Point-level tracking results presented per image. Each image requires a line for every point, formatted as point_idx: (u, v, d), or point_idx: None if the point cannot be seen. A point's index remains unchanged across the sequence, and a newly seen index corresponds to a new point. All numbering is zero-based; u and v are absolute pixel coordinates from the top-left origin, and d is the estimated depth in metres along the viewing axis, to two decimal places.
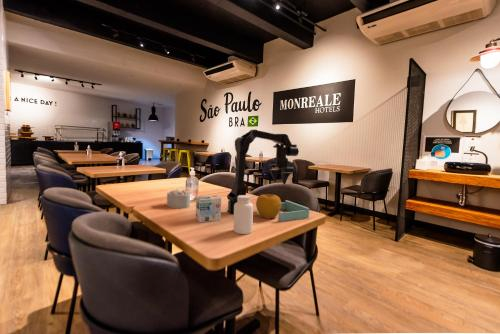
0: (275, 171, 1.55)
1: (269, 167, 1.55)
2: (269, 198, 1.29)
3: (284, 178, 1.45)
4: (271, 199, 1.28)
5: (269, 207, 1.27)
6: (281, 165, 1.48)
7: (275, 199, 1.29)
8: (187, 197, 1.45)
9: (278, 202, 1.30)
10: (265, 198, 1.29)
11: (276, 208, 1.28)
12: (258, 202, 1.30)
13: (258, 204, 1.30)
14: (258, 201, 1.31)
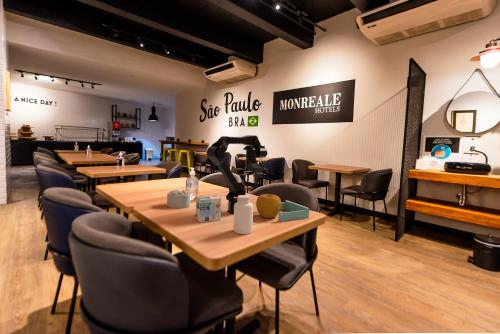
0: (257, 175, 1.47)
1: None
2: (269, 198, 1.29)
3: (242, 180, 1.44)
4: (271, 199, 1.28)
5: (269, 207, 1.27)
6: (245, 167, 1.45)
7: (275, 199, 1.29)
8: (187, 197, 1.45)
9: (278, 202, 1.30)
10: (265, 198, 1.29)
11: (276, 208, 1.28)
12: (258, 202, 1.30)
13: (258, 204, 1.30)
14: (258, 201, 1.31)
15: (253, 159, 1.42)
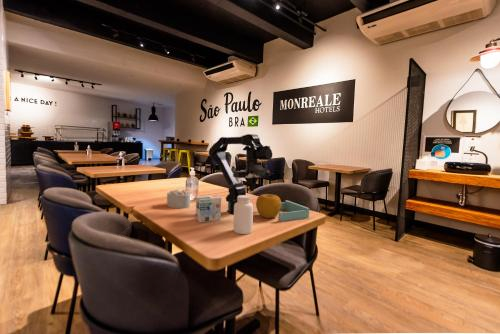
0: (253, 178, 1.32)
1: None
2: (269, 198, 1.29)
3: (248, 183, 1.31)
4: (271, 199, 1.28)
5: (269, 207, 1.27)
6: (246, 170, 1.30)
7: (275, 199, 1.29)
8: (187, 197, 1.45)
9: (278, 202, 1.30)
10: (265, 198, 1.29)
11: (276, 208, 1.28)
12: (258, 202, 1.30)
13: (258, 204, 1.30)
14: (258, 201, 1.31)
15: (255, 160, 1.28)
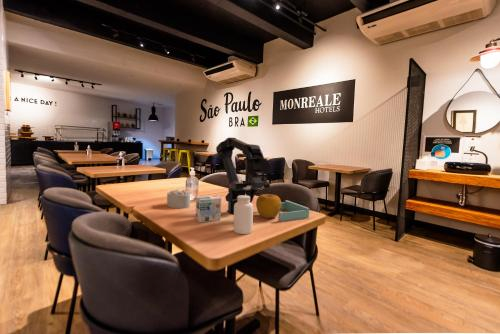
0: (251, 190, 1.28)
1: None
2: (269, 198, 1.29)
3: (247, 195, 1.28)
4: (271, 199, 1.28)
5: (269, 207, 1.27)
6: (245, 181, 1.27)
7: (275, 199, 1.29)
8: (187, 197, 1.45)
9: (278, 202, 1.30)
10: (265, 198, 1.29)
11: (276, 208, 1.28)
12: (258, 202, 1.30)
13: (258, 204, 1.30)
14: (258, 201, 1.31)
15: (254, 172, 1.24)
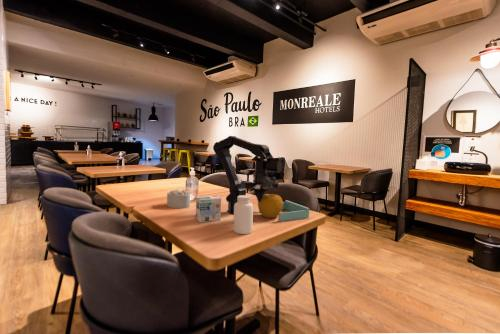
0: (260, 189, 1.30)
1: None
2: (271, 198, 1.29)
3: (256, 194, 1.31)
4: (273, 199, 1.29)
5: (271, 207, 1.28)
6: (254, 180, 1.30)
7: (277, 199, 1.30)
8: (187, 197, 1.45)
9: (280, 202, 1.30)
10: (267, 198, 1.29)
11: (278, 208, 1.29)
12: (260, 202, 1.31)
13: (260, 204, 1.31)
14: (260, 201, 1.31)
15: (263, 172, 1.27)
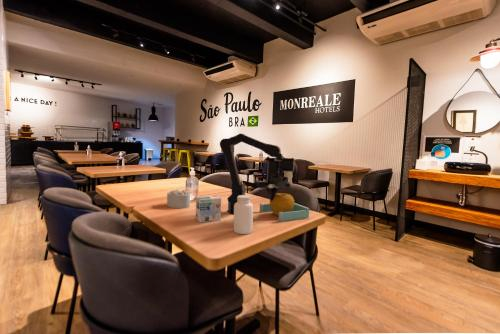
0: None
1: None
2: (283, 197, 1.33)
3: (268, 193, 1.34)
4: (285, 198, 1.32)
5: (283, 206, 1.31)
6: (267, 180, 1.33)
7: (289, 198, 1.33)
8: (187, 197, 1.45)
9: (291, 201, 1.34)
10: (279, 197, 1.33)
11: (290, 206, 1.32)
12: (272, 201, 1.34)
13: (272, 203, 1.34)
14: (272, 200, 1.35)
15: (276, 171, 1.30)
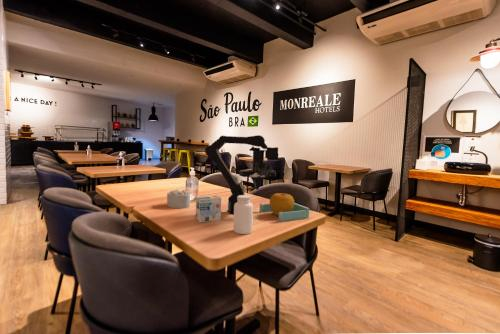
0: (258, 178, 1.37)
1: None
2: (283, 197, 1.33)
3: (254, 182, 1.37)
4: (285, 198, 1.32)
5: (283, 206, 1.31)
6: (252, 169, 1.36)
7: (288, 198, 1.33)
8: (187, 197, 1.45)
9: (291, 201, 1.34)
10: (279, 197, 1.33)
11: (290, 207, 1.32)
12: (272, 201, 1.34)
13: (272, 203, 1.34)
14: (272, 200, 1.35)
15: (260, 161, 1.33)
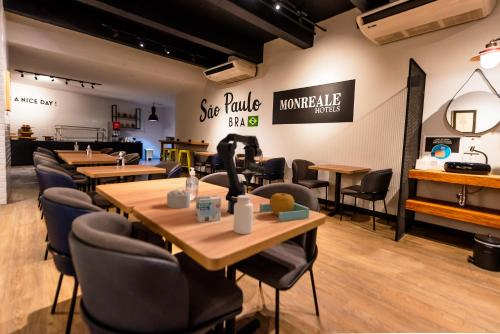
0: (249, 174, 1.51)
1: None
2: (283, 197, 1.33)
3: (245, 178, 1.51)
4: (285, 198, 1.32)
5: (283, 206, 1.31)
6: (244, 166, 1.50)
7: (289, 198, 1.33)
8: (187, 197, 1.45)
9: (291, 201, 1.34)
10: (279, 197, 1.33)
11: (290, 207, 1.32)
12: (272, 201, 1.34)
13: (272, 203, 1.34)
14: (272, 200, 1.35)
15: (251, 158, 1.47)
